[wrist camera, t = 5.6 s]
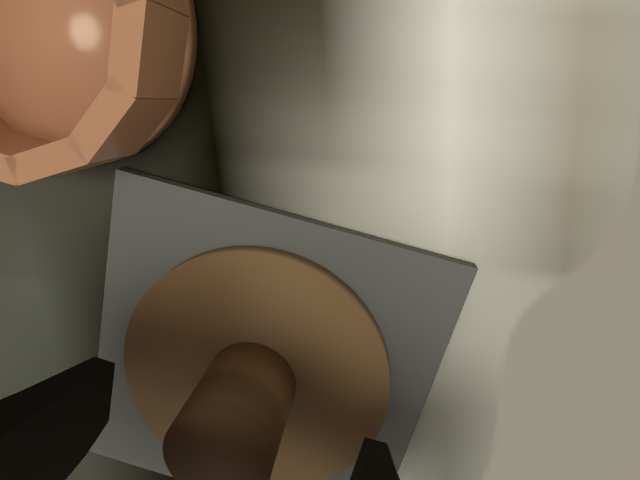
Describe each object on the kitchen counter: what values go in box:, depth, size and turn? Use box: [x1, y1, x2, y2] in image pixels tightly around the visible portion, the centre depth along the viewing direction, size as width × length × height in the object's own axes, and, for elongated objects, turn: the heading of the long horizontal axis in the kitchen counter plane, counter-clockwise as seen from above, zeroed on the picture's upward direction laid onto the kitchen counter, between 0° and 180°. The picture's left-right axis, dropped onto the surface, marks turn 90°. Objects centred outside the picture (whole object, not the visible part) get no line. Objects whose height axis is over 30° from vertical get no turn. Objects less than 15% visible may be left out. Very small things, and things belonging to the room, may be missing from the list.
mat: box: [89, 167, 478, 480], centre depth 15 cm, size 11×11×1 cm
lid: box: [123, 245, 390, 480], centre depth 13 cm, size 9×9×4 cm
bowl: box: [0, 0, 198, 186], centre depth 11 cm, size 8×8×3 cm
